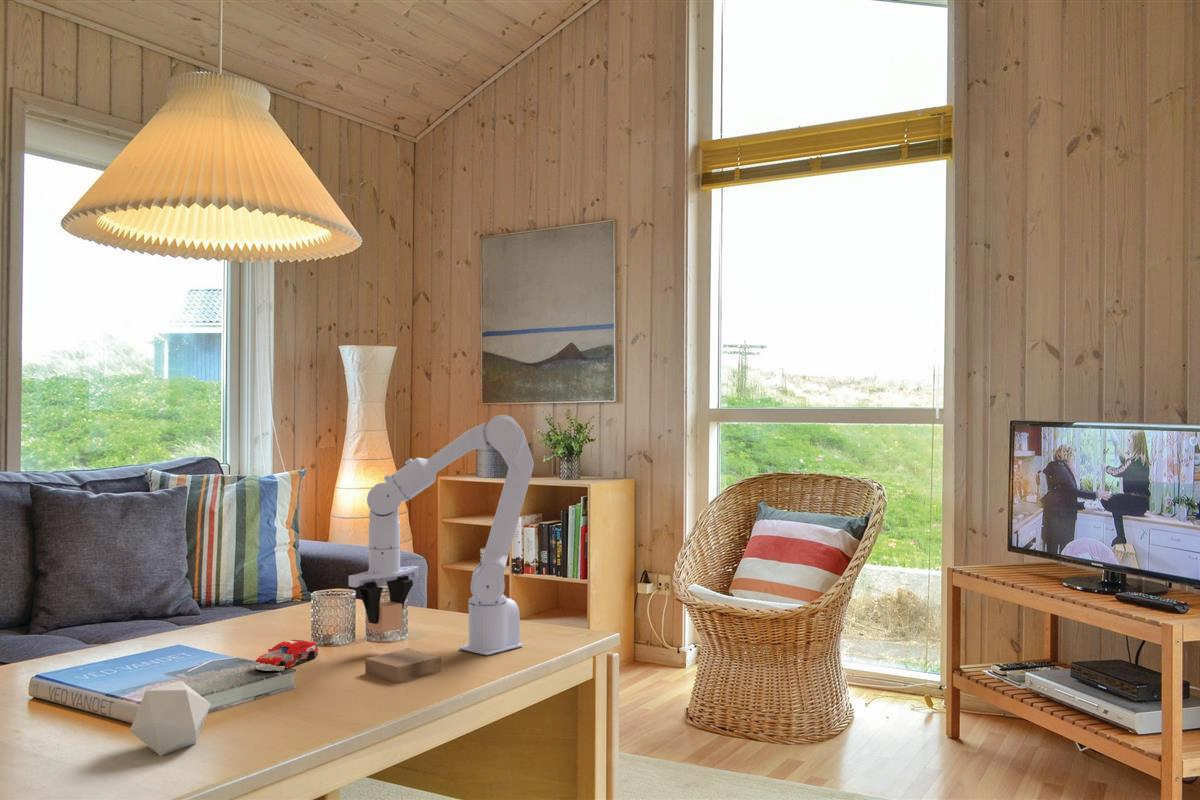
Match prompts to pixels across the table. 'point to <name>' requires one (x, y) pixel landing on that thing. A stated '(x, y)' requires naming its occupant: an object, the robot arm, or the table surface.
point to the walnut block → (402, 665)
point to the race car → (290, 653)
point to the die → (170, 717)
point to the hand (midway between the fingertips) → (384, 620)
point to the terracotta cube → (388, 617)
